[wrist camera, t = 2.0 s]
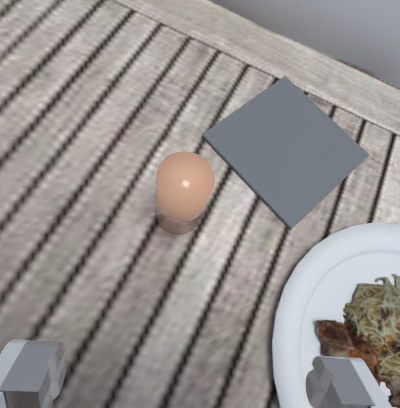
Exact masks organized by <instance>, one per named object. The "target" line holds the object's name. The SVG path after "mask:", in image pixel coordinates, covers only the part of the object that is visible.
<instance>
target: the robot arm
mask: <svg viewBox="0 0 400 408" xmlns="http://www.w3.org/2000/svg"><path fill="white" fill-rule="evenodd" d="M64 351H65V349H64V343H57V342H45V341H32V340H17V339H12V340H11V341H9V342H8V343H7V344H6V346H5V347H4V349H3V350H2V352H1V353H0V408H53V401H52V400H53V399H55V398H56V397H57V396H58V395H59V393H60V391H61V388H62V385H63V381H64V377H65V371H66V361H65V360H64V359H63V358H62V356H63V354H64ZM312 366H313V368H314V369H313V370H311V371H310V372H308V374H307V377H306V394H307V397H308V400H309V403H310V405H311V406H312V407H313V408H397V407H392V406H391V405H390V403H389V401H388V400H387V398H386V396H385V395H384V393H383V391H382V390H381V388H380V386H379V385H378V383H377V381H376V380H375V378H374V377H373V375H372V373H371V372H370V370H369V368H368V367H367V365H366V363H365V362H364V361H363V360H362V359H361V358H348V357H331V356H316V357H315V358H314V359H313V361H312Z"/></svg>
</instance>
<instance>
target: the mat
mask: <svg viewBox="0 0 400 408" xmlns="http://www.w3.org/2000/svg"><path fill="white" fill-rule="evenodd" d="M202 137H203V139H204V140H205V141H206V142H207V143H208V144H209V145H210V146H211V147H212V148H213V149H214V150H215V151H216V152H217V153H218V154H219V155H220V156H221V158H222V159H223V160H224V161H225V162H226V163H227V164H228V165H229V166H230V167H231V168H232V169H233V170H234V171H235V172H236V173H237V174H238V175H239V177H240V178H241V179H242V180H243V181H244V182H245V183H246V184H247V185H248V186H249V187H250V188H251V189H252V190H253V191H254V192H255V193H256V194H257V196H258V197H259V198H260V199H261V200H262V201H263V202H264V203H265V204H266V205H267V206H268V207H269V208H270V209H271V210H272V211H273V212H274V213H275V214H276V216H277V217H278V218H279V219H280V220H281V221H282V222H283V223H284V224H285V225H286V226H287V227H288V228H289V229H292V228H293V227H294V226H295V225H296V224H297V223H298V222H299V221H300V220H301V219H302V218H303V217H304V216H306V215H307V214H308V213H309V212H310V211H311V210H312V209H313V208H314V207H315V206H316V205H317V204H318V203H319V202H320V201H321V200H322V199H323V198H324V197H326V196H327V195H328V194H329V193H330V192H331V191H332V190H333V189H334V188H335V187H336V186H337V185H338V184H339V183H340V182H341V181H342V180H343V179H344V178H345V177H347V176H348V175H349V174H350V173H351V172H352V171H353V170H354V169H355V168H356V167H357V166H358V165H359V164H360V163H361V162H362V161H363V160H364V159H365V158H367V157H368V156H369V154H368V153H367V152H366V151H365V150H364V149H363V148H361V147H360V146H359V145H358V144H357V143H356V142H355V141H354V140H353V139H352V138H351V137H350V136H349V135H348V134H347V133H345V132H344V131H343V130H342V129H341V128H340V127H339V126H338V125H337V124H336V123H335V122H334V121H333V120H332V119H330V118H329V117H328V116H327V115H326V114H325V113H324V112H323V111H322V110H321V109H320V108H319V107H318V106H317V105H316V104H314V103H313V102H312V101H311V100H310V99H309V98H308V97H307V96H306V95H305V94H304V93H303V92H302V91H301V90H300V89H298V88H297V87H296V86H295V85H294V84H293V83H292V82H291V81H290V80H289V79H288V78H287V77H286V76H284V77H283V78H282V79H280V80H279V81H277V82H276V83H275V84H273V85H272V86H270V87H269V88H267V89H266V90H265V91H263V92H262V93H260V94H259V95H257V96H256V97H255V98H253V99H252V100H250V101H249V102H248V103H246V104H245V105H243V106H242V107H240V108H239V109H238V110H236V111H235V112H233V113H232V114H230V115H229V116H228V117H226V118H225V119H223V120H222V121H220V122H219V123H218V124H216V125H215V126H213V127H212V128H211V129H209V130H208V131H206V132H205V133H203V134H202Z"/></svg>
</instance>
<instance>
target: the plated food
mask: <svg viewBox="0 0 400 408" xmlns="http://www.w3.org/2000/svg"><path fill="white" fill-rule="evenodd" d="M316 356H331V357H348V358H361V359H362V360H363V361H364V362H365V363H366V365H367V367H368V368H369V370H370V372H371V373H372V375H373V377H374V378H375V380H376V381H377V383H378V385H379V386H380V388H381V390H382V391H383V393H384V395H385V396H386V398H387V400H388V401H389V403H390V405H391V406H392V407H397V408H400V224H392V223H377V222H375V223H368V224H361V225H354V226H351V227H349V228H346V229H343V230H341V231H338V232H336V233H333V234H331V235H330V236H328V237H327V238H325V239H324V240H322V241H321V242H319V243H318V244H316V245H315V246H314V247H312V248H311V250H310V251H309V252H308V253H307V254H306V255H305V256H304V257H303V258H302V259H301V260H300V262H299V263H298V264H297V265H296V267H295V269H294V270H293V272H292V274H291V276H290V277H289V279H288V281H287V283H286V284H285V286H284V289H283V292H282V295H281V298H280V301H279V304H278V307H277V310H276V314H275V321H274V329H273V337H272V360H273V377H274V382H275V386H276V391H277V395H278V400H279V405H280V408H313V407H312V406H311V405H310V403H309V400H308V397H307V394H306V377H307V374H308V372H310V371H311V370H313V369H314V368H313V366H312V361H313V359H314V358H315V357H316Z"/></svg>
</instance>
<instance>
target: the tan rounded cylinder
mask: <svg viewBox="0 0 400 408" xmlns="http://www.w3.org/2000/svg"><path fill="white" fill-rule="evenodd" d="M213 186H214V173H213V170H212V168H211V166H210V165H209V163H208V162H207V161H206V160H205V159H204V158H202V157H201V156H199V155H197V154H195V153H191V152H177V153H174V154H171V155H169V156H168V157H166V158H165V159H164V160H163V161H162V162H161V164H160V165H159V167H158V170H157V174H156V200H157V219H158V222H159V224H160V225H161V226H162V227H163V228H164V229H165V230H166V231H168V232H170V233H173V234H184V233H187V232H189V231H191V230H192V229H193V228H194V227H195V226H196V225H197V223H198V221H199V219H200V216H201V214H202V212H203V209H204V207H205V205H206V203H207V200H208V198H209V196H210V193H211V191H212V189H213Z"/></svg>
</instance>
